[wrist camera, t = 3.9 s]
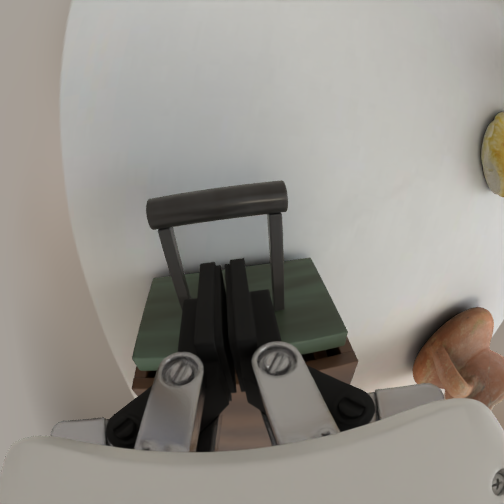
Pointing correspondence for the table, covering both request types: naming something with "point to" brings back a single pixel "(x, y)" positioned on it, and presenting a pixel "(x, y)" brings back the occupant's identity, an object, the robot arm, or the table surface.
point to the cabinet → (247, 416)
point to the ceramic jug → (463, 359)
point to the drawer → (258, 276)
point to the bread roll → (494, 155)
